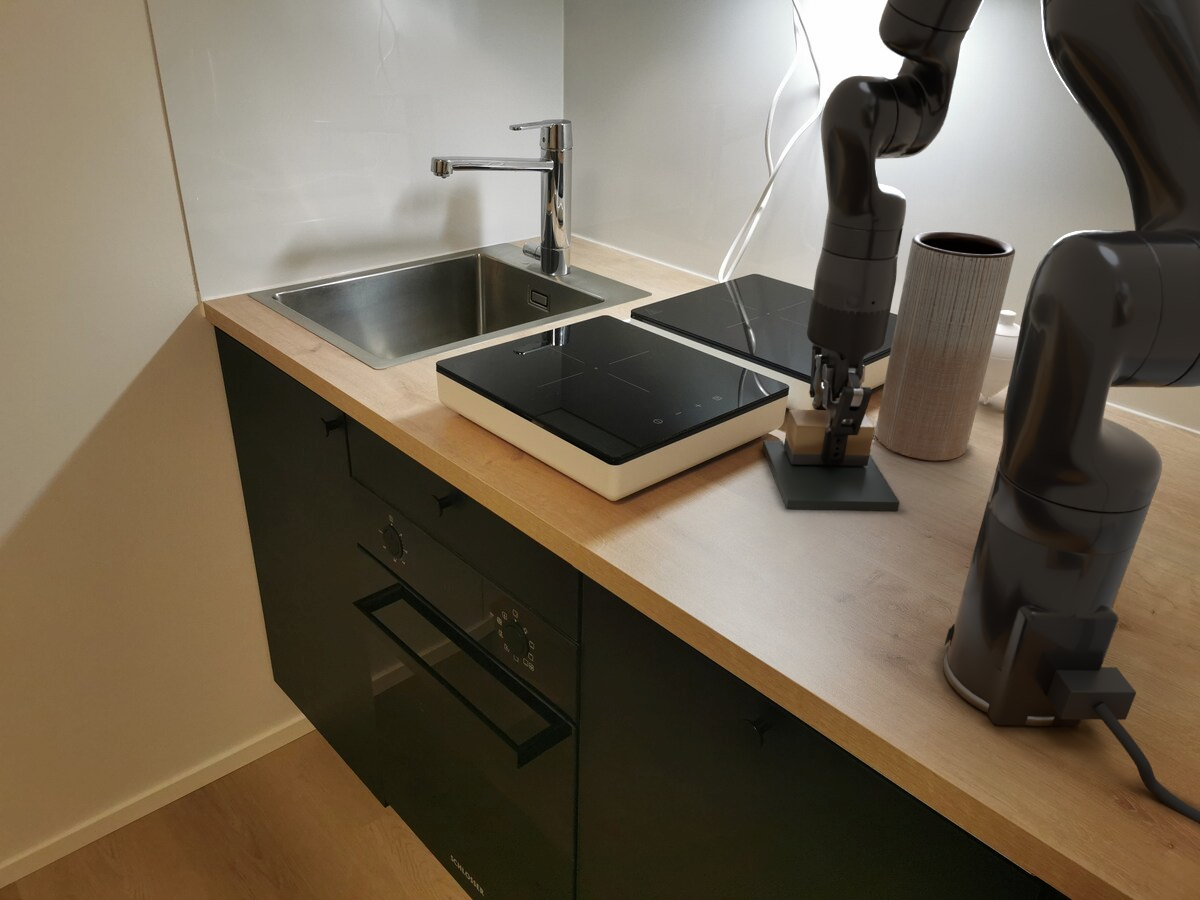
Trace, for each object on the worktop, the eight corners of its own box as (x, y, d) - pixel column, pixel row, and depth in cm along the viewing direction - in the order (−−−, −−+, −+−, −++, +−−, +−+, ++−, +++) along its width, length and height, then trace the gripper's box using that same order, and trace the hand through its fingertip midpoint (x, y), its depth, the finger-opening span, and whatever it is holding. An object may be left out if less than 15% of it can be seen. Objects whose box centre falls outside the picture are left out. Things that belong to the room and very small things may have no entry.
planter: (970, 468, 97) (1022, 259, 87) (874, 454, 100) (914, 249, 89) (962, 429, 106) (1009, 236, 96) (874, 417, 108) (910, 227, 98)
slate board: (897, 511, 89) (899, 502, 88) (786, 508, 88) (788, 500, 88) (860, 450, 100) (862, 442, 100) (762, 448, 100) (763, 440, 100)
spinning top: (941, 393, 116) (961, 302, 110) (995, 390, 117) (1018, 301, 112) (973, 418, 109) (997, 323, 104) (1030, 415, 110) (1057, 321, 105)
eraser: (867, 466, 94) (875, 427, 92) (791, 464, 94) (797, 425, 92) (857, 448, 98) (864, 410, 96) (783, 447, 98) (789, 409, 96)
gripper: (914, 321, 82) (881, 487, 90) (869, 276, 95) (843, 424, 102) (832, 319, 82) (806, 485, 89) (797, 274, 94) (777, 423, 102)
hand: (826, 452), depth 96 cm, fingers closed on eraser, 4 cm apart
